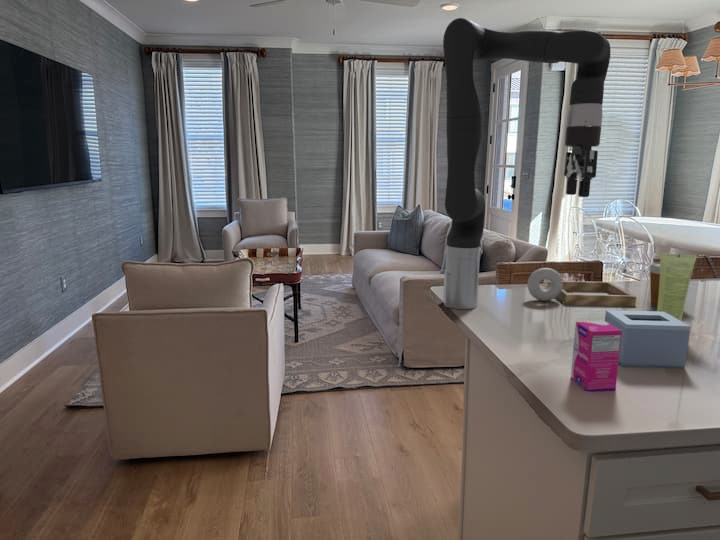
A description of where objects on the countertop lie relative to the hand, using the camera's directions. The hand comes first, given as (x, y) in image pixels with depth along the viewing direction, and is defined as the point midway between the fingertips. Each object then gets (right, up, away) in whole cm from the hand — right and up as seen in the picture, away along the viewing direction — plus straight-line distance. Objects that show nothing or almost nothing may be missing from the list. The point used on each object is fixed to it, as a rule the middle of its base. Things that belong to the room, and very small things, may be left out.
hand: (577, 195), depth 122 cm
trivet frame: (+17, -26, +33) cm, 46 cm away
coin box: (+6, -36, -16) cm, 40 cm away
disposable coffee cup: (+35, -28, +24) cm, 51 cm away
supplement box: (-10, -39, -29) cm, 50 cm away
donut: (+2, -27, +29) cm, 40 cm away
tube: (+21, -33, 0) cm, 40 cm away
